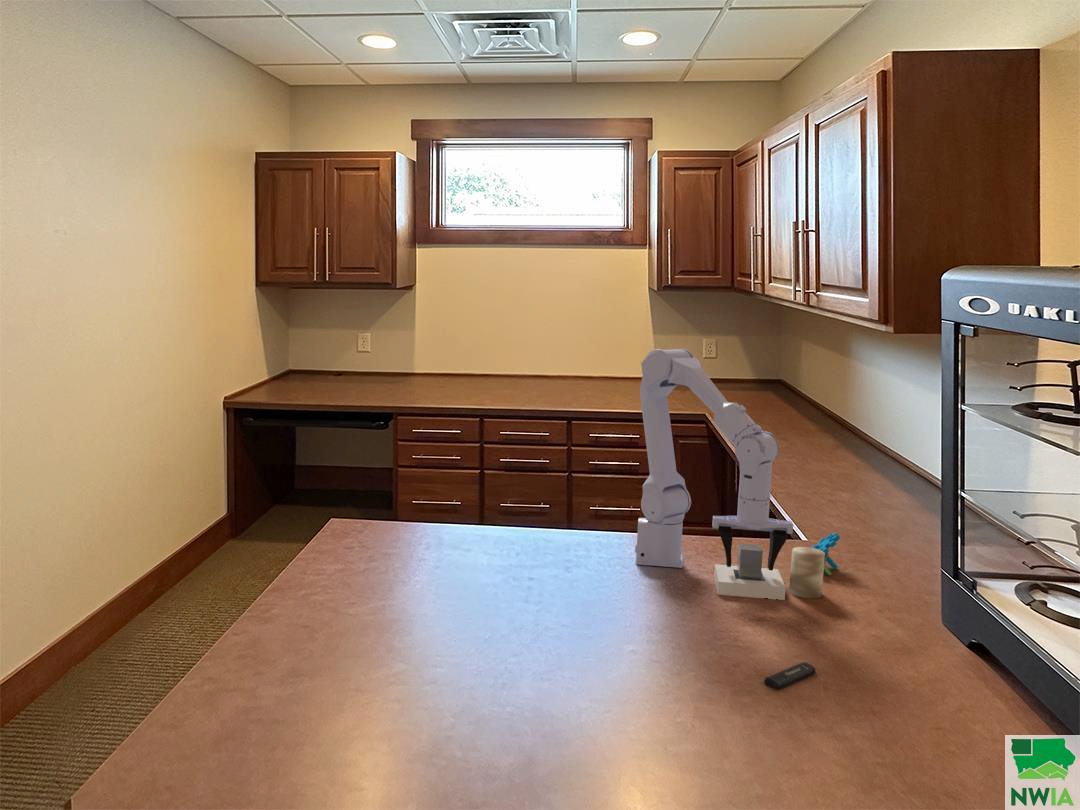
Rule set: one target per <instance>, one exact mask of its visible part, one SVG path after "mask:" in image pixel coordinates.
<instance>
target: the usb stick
mask: <svg viewBox="0 0 1080 810" xmlns="http://www.w3.org/2000/svg"><path fill="white" fill-rule="evenodd" d="M815 674H816V668H815V667H814V665H812V664H810V663H808V662H805V661H803V662H800V663H798V664H795V665H792V666H791V667H788V668H785V669H783V670H780V671H778V672H776V673H774V674H772V675H769V676H766V677H765V678H764V679H763V680H764V681H763V682H764V684H765V686H767V687H769V688H771V689H773V690H776V691H779V690H781V689H784V688H787V687H788V686H791V685H793V684H795V683H797V682H800V681H803V680H804V679H807V678H808V677H809V678H810V677H812V676H813V675H815Z"/></svg>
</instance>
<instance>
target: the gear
mask: <svg viewBox="0 0 1080 810" xmlns="http://www.w3.org/2000/svg"><path fill="white" fill-rule="evenodd" d="M840 539H841V536H840V535H839V534H838V533H837V532H834V533H829V534H828V535H827V536H826V537H825V538H824V537H822V538H821V539H820V540H819V541H818V543H817V544H814V545H812V546H811V547H810V548H815V549H819V550H821V551H823V552H824V553H825V559H824V572H825V573H826V574H827V575H828V576H829V575H830V576H831V575H832V572H831V571H830V570H829V568H828V567H827V566H826V565H825V564H826V563H827V564H828V565H829V566H830V567H831V568H832V569H833V570H834V569H835V570H836V569H838V567H839V566H838V565H837V563H835V562H834V560H833V559H832V558H831V557H830V556H829V552H830V550H829V548H834V547H835V546H837V544H838V543H837V542H838V541H839V540H840Z"/></svg>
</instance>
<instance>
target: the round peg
mask: <svg viewBox="0 0 1080 810" xmlns="http://www.w3.org/2000/svg"><path fill="white" fill-rule="evenodd" d="M824 559H825V553H824V552H823V551H821V550H819V549H815V548H811V547H808V546H796V547H794V548H791V560H790V561H791V563H790V576H789V586H788V587H789V589H788V592H789V591H790V592H789V593H790V594H791V595H793V596H795V597H800V598H803V599H810V598H811V599H812V598H814V599H819V598H821V597H822V595H823V584H824V583H823V582H824V572H825V571H824V565H825V564H824Z"/></svg>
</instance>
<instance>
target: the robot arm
mask: <svg viewBox="0 0 1080 810" xmlns="http://www.w3.org/2000/svg"><path fill="white" fill-rule="evenodd" d="M701 364H702V363H701V362H700V360H699V358H697V357H695V356H694V354H693V353H692V352H691V351H690V350H689V349H686V348H678V349H658V348H657V349H653V350H651V351H650V352H648V353H647V355H646V357H645V358H644V359H643V360H642V361H641V370H642V371H641V372H642V373H641V374H642V378H641V382H640V386H639V397H640V398H639V399H640V407H641V413H642V421H643V428H644V429H643V430H644V436H645V437H644V439H645V447H646V454H647V460H648V461H647V463H648V470H649V475H648V477H647V478H646V479H645V481H644V483H643V484H642V497H641V500H640V506H641V507H640V508H641V511H642V513H643V515H644V516H645V517H639V518H638V520H637V535H636V536H637V537H636V543H635V546H634V547H635V548H634V553H636V556H635V559H636V560H635V564H636V565H640V566H651V567H652V566H654V567H655V566H656V567H667V568H677V569H678V568H679V569H681V568H682V569H683V567H684V560H683V554H682V544H683V543H682V542H683V527H684V526H683V524H684V522H683V521H684V519H685V514H686V513H687V512H688V511H689V510H690V508H691V505H692V499H691V495H690V492H689V491H688V489H687V485H686V482H685V481H686V480H685V478H684V477H683V476H682V475H681V474H680V473H678V471H677V465H676V456H675V449H674V440H673V434H672V433H673V432H672V425H671V416H670V408H669V400H668V396H669V395H670V393H672V391H673V390H674V389H675V388H676V387H677V386H678V385H679V386H686V387H687V388H689V390H691V391H692V392H693V394H694V395H695V396H697V398H699V400H700V401H701V402H702V403H703V404H704V405H705V406H706V407H707V408H709V410H710V411H711V412H712V413H713V423H714V424H715V425H716V427H717V428H718V429H719V430H720V431H721V432H722V435H724V436H725V438H727V440H728V441H729V442H730V443H731V444H732V445H733V446H734V447H735V448H734V454H735V457H736V459H737V460H738V462H739V480H738V481H739V484H738V485H739V486H738V497H737V512H736V513H737V515H712V524H711V525H712V529H717V530H718V534H719V537H720V540H721V541H722V542H721V543H722V545H723V547H724V552H725V560H726V561H725V563H726V564H725V565H727V567H731V566H732V548H733V537H734V536H733V529H736V530H746V531H747V530H748V531H760V532H769V550H768V557H767V568H768V569H769V570H773V569H774V567H775V563H776V560H777V557H778V556H779V553H780V552H781V550H782V548H783V547H784V544H786V541H787V539H788V534H790V535H791V534H792V535H793V532H794V531H793V530H794V523H793V522H792V520H783V519H782V520H781V519H777V518H776V519H775V518H770V517H769V516H770V504H771V503H770V502H771V489H772V475H773V462H774V460H776V458H777V457H778V456H779V453H780V444H779V441H778V440H777V438H776V437H775V434H773V433H772V432H769V431H764V430H763V428H762V427H761V425H759V424H757V423H755V421H754V420H753V419H752V418H751V417H750V416H749V415H748V414H747V413H746V411H747V408H746V407H745V406H744V405H743V404H741V405H740V404H739V403H737V402H728V400H727V399H726V398H725V396H724V395H723V394H722V393H721V391H720V390H719V389H718V387H717V386H716V385H715V384H714V382H713V381H712V380H711V378H710V377H709V376H708V375H707V373H706V372H705V371H704V369H703V368H702V365H701Z"/></svg>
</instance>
